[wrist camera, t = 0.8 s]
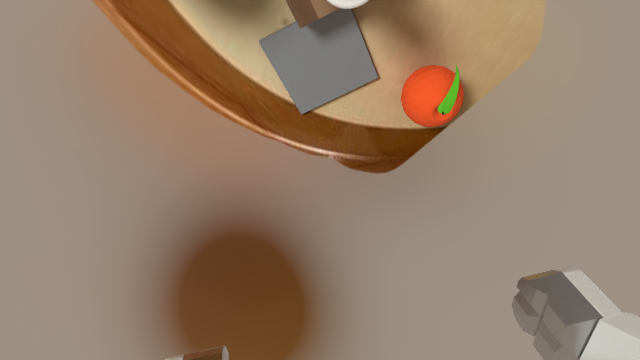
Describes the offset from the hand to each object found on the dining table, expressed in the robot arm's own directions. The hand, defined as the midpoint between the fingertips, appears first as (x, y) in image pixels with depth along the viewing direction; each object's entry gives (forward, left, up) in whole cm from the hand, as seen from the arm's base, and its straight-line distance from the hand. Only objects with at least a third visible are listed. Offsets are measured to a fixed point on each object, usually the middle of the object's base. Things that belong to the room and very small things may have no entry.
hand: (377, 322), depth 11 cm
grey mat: (0, +11, -37) cm, 38 cm away
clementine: (-10, +19, -37) cm, 43 cm away
